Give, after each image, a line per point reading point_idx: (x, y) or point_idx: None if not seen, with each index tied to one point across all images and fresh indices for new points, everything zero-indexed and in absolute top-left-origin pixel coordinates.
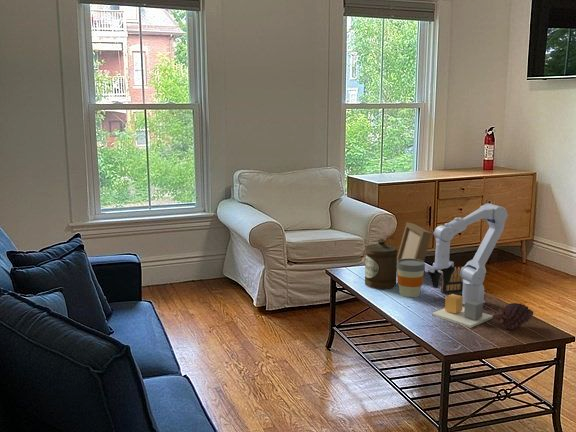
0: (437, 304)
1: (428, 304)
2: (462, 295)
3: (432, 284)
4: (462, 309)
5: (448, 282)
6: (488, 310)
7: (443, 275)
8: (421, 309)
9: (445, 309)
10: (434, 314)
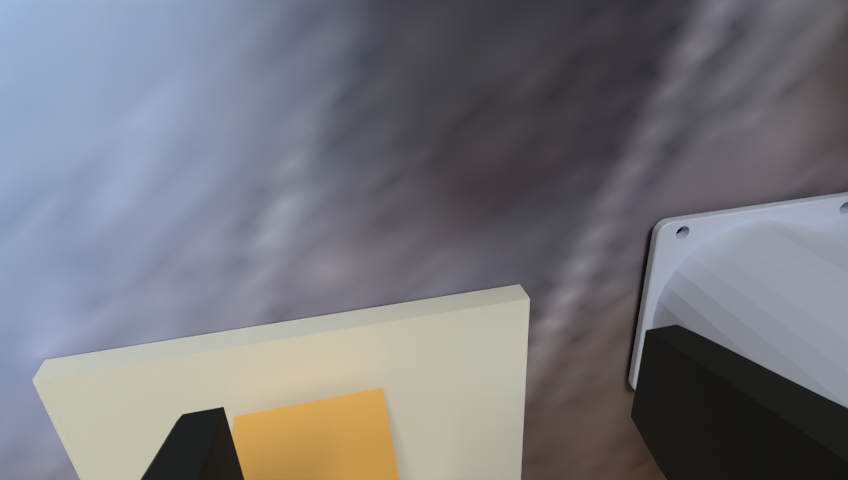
0: (429, 119)
1: (322, 39)
2: (742, 293)
3: (150, 469)
4: (453, 433)
5: (667, 460)
6: (642, 470)
7: (833, 467)
8: (55, 133)
9: (234, 432)
10: (49, 407)
